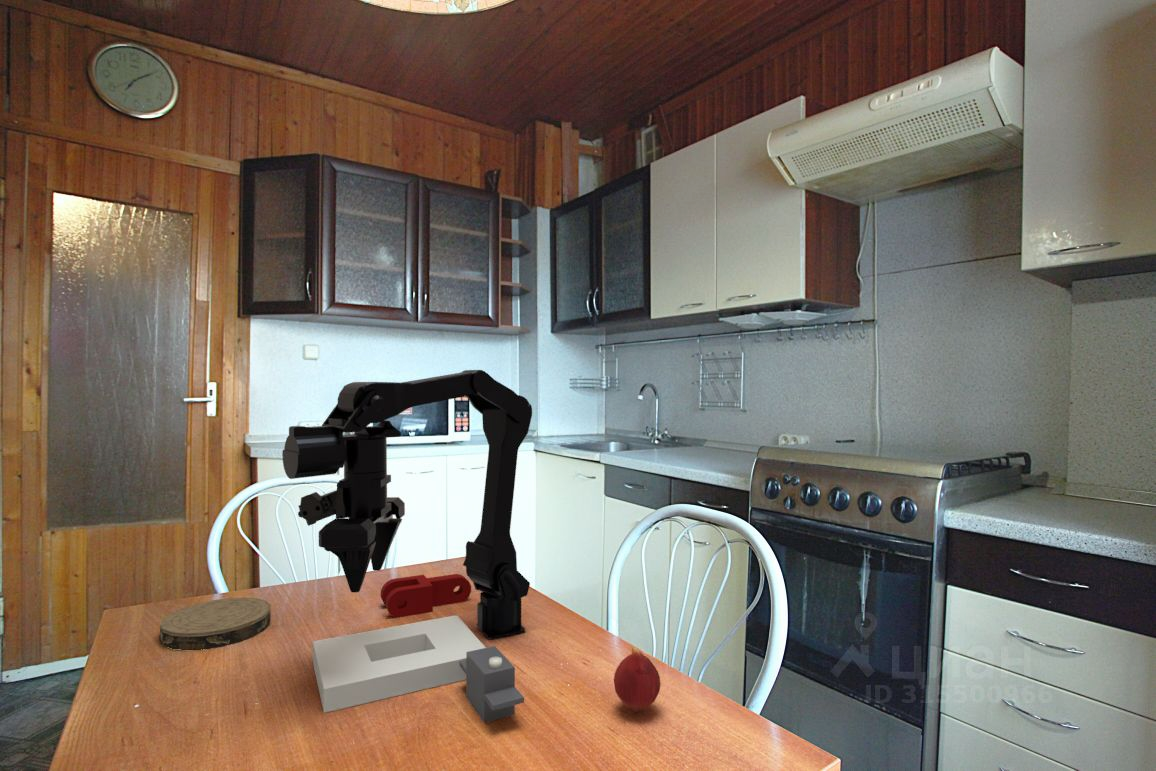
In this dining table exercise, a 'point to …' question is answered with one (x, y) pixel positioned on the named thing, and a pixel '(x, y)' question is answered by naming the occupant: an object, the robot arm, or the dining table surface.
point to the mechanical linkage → (423, 593)
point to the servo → (490, 684)
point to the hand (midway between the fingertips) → (366, 580)
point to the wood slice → (215, 623)
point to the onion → (637, 681)
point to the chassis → (391, 661)
